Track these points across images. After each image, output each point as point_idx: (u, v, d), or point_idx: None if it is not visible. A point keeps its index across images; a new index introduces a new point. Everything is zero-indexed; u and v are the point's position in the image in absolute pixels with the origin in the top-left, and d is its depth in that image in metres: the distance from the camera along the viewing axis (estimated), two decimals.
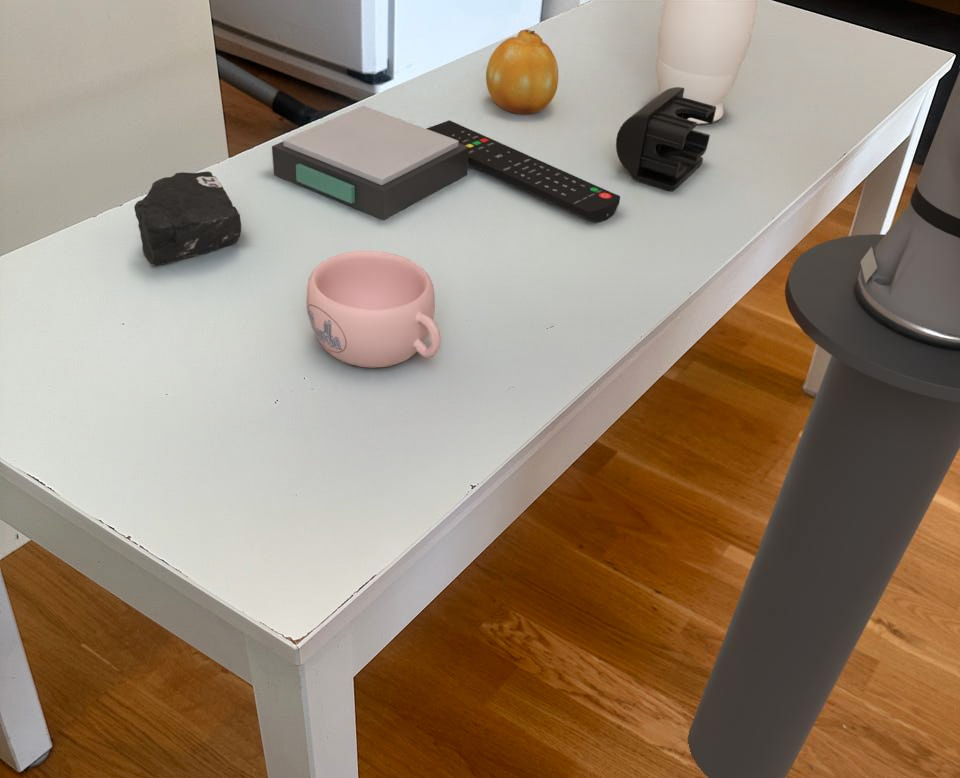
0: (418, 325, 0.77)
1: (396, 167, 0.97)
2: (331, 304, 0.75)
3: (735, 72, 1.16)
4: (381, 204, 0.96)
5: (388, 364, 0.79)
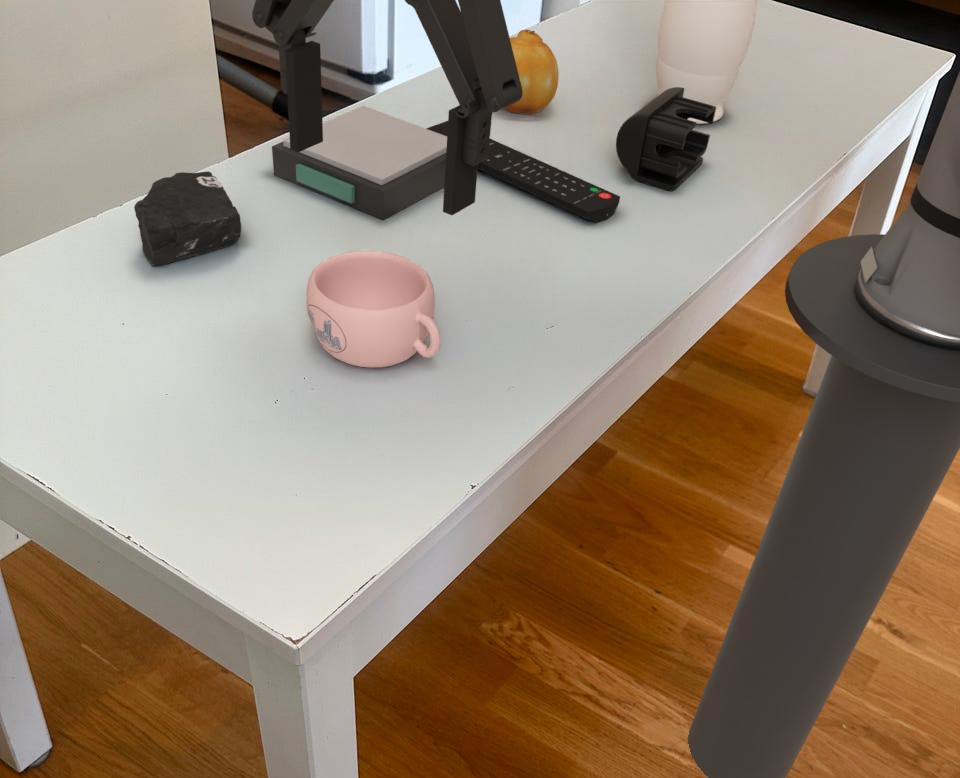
0: (418, 325, 0.77)
1: (396, 167, 0.97)
2: (331, 304, 0.75)
3: (735, 72, 1.16)
4: (381, 204, 0.96)
5: (388, 364, 0.79)
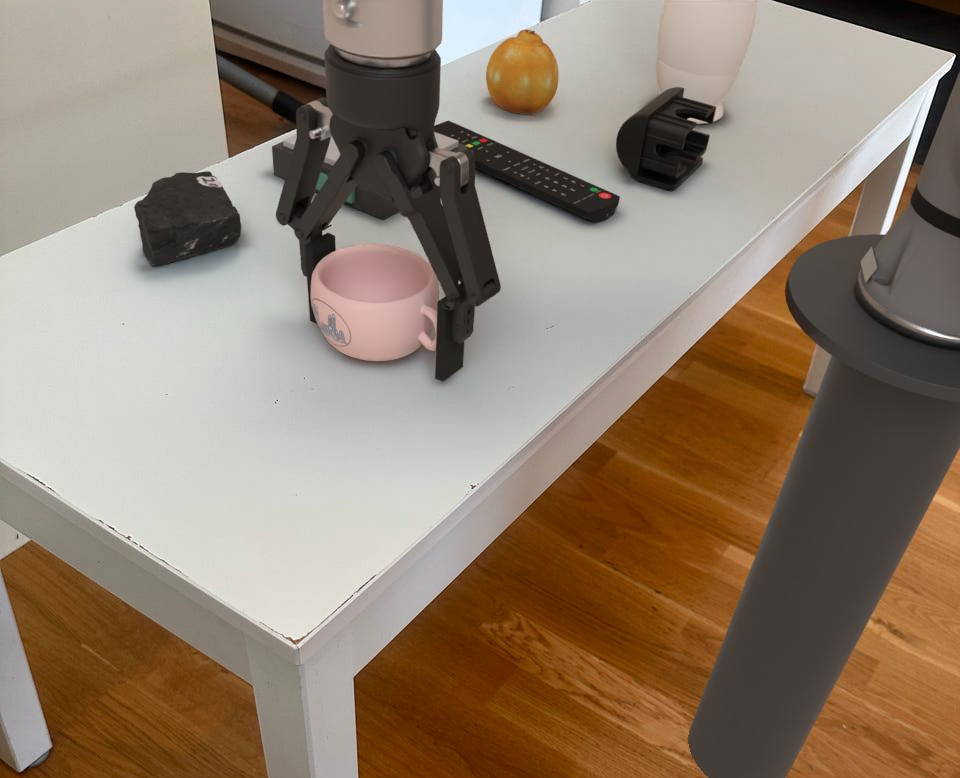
0: (423, 318, 0.77)
1: None
2: (335, 297, 0.75)
3: (735, 72, 1.16)
4: (381, 204, 0.96)
5: (393, 357, 0.79)
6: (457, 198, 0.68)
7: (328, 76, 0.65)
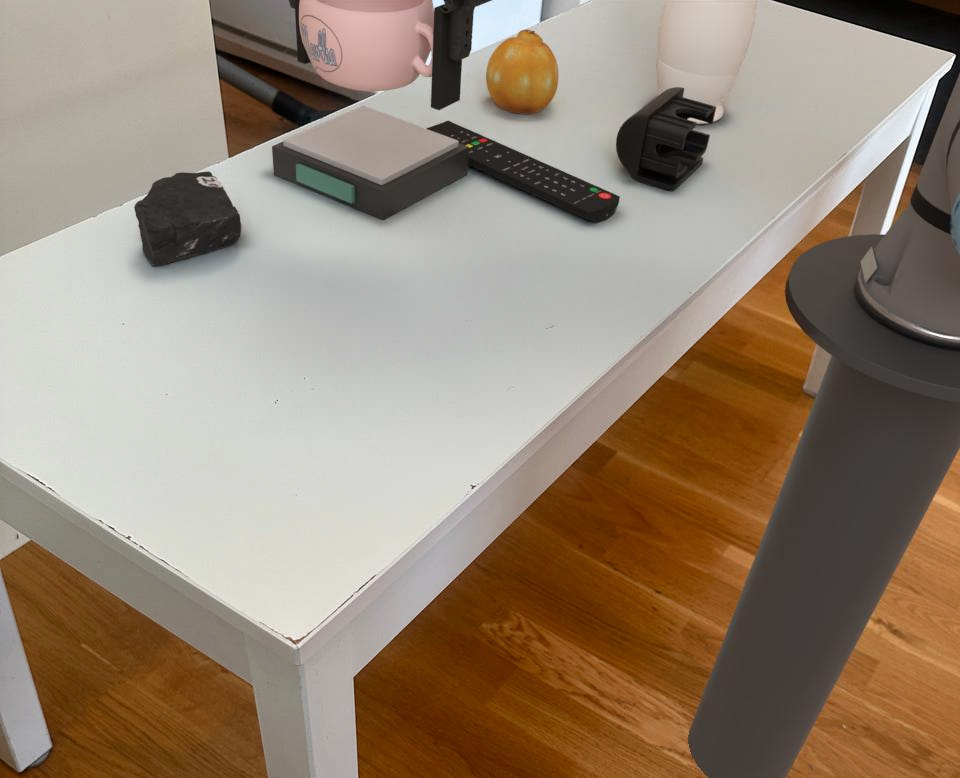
0: (418, 38, 0.73)
1: (396, 167, 0.97)
2: (326, 8, 0.71)
3: (735, 72, 1.16)
4: (381, 204, 0.96)
5: (386, 86, 0.75)
6: None
7: None
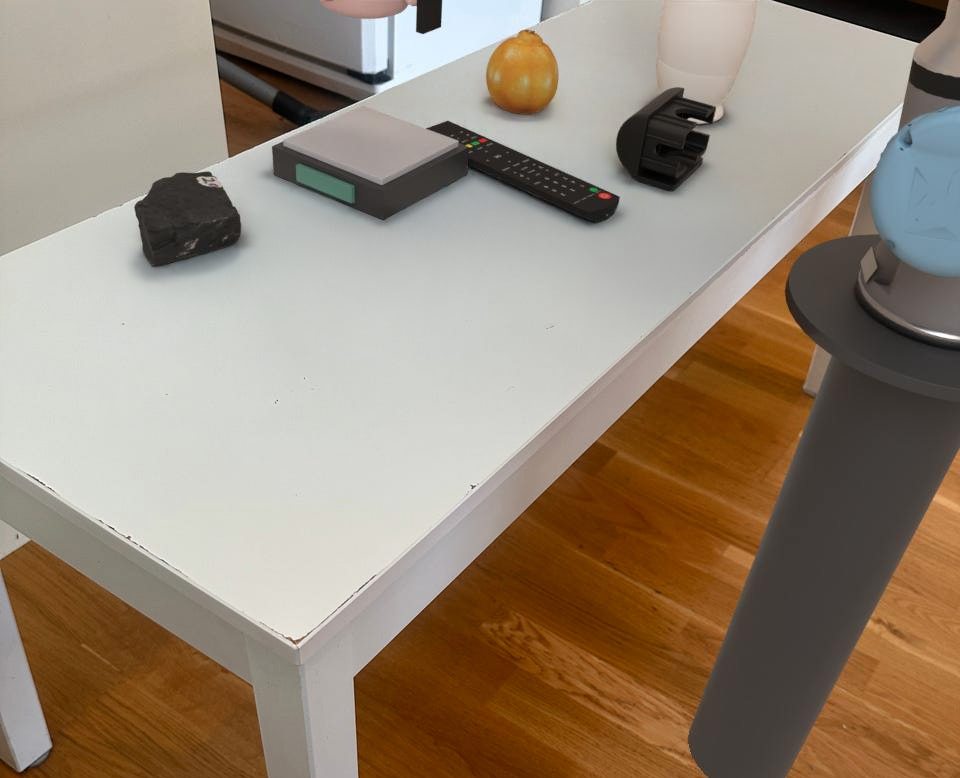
0: None
1: (396, 167, 0.97)
2: None
3: (735, 72, 1.16)
4: (381, 204, 0.96)
5: (379, 14, 0.89)
6: None
7: None
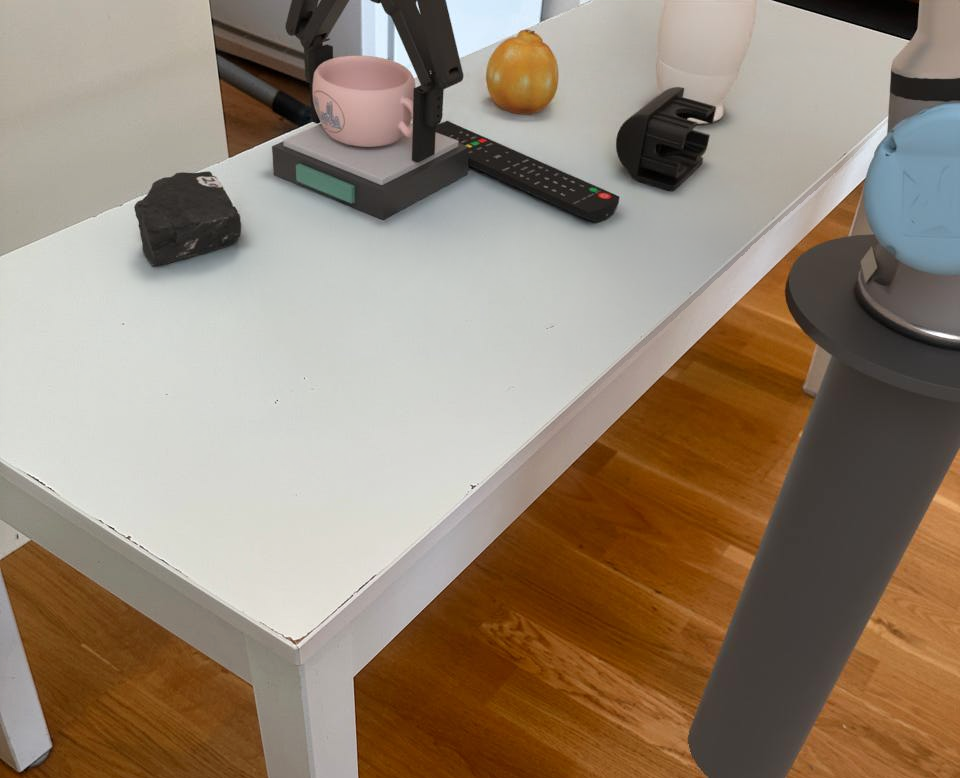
0: (402, 108, 0.96)
1: (396, 167, 0.97)
2: (332, 86, 0.94)
3: (735, 72, 1.16)
4: (381, 204, 0.96)
5: (378, 144, 0.98)
6: None
7: None
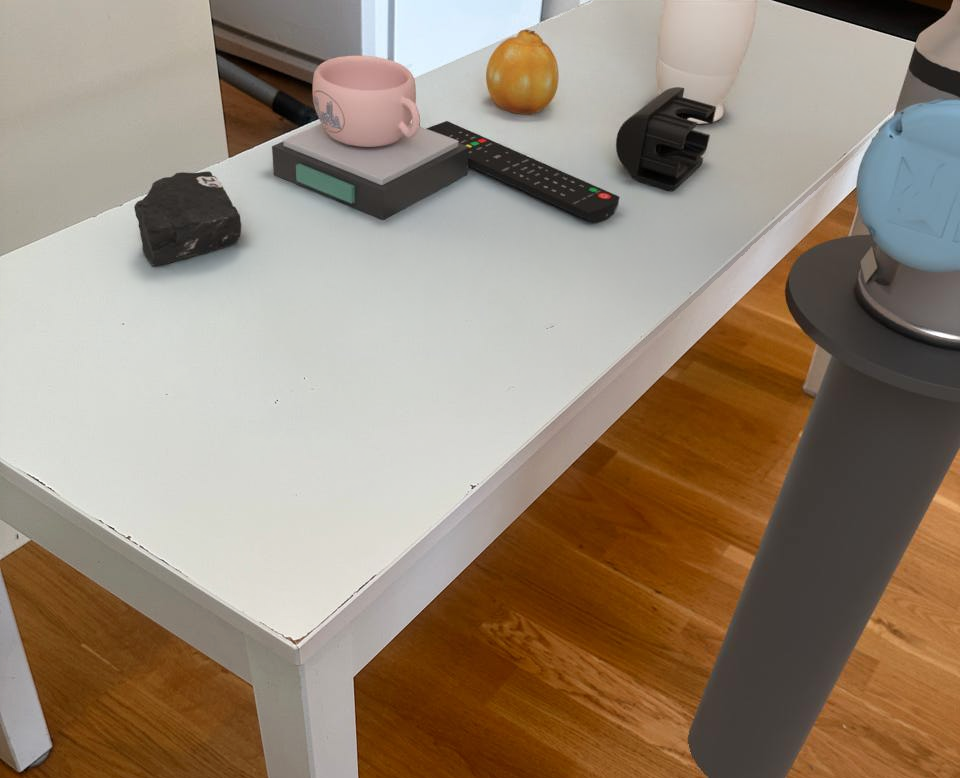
0: (402, 108, 0.96)
1: (396, 167, 0.97)
2: (332, 86, 0.94)
3: (735, 72, 1.16)
4: (381, 204, 0.96)
5: (378, 144, 0.98)
6: None
7: None
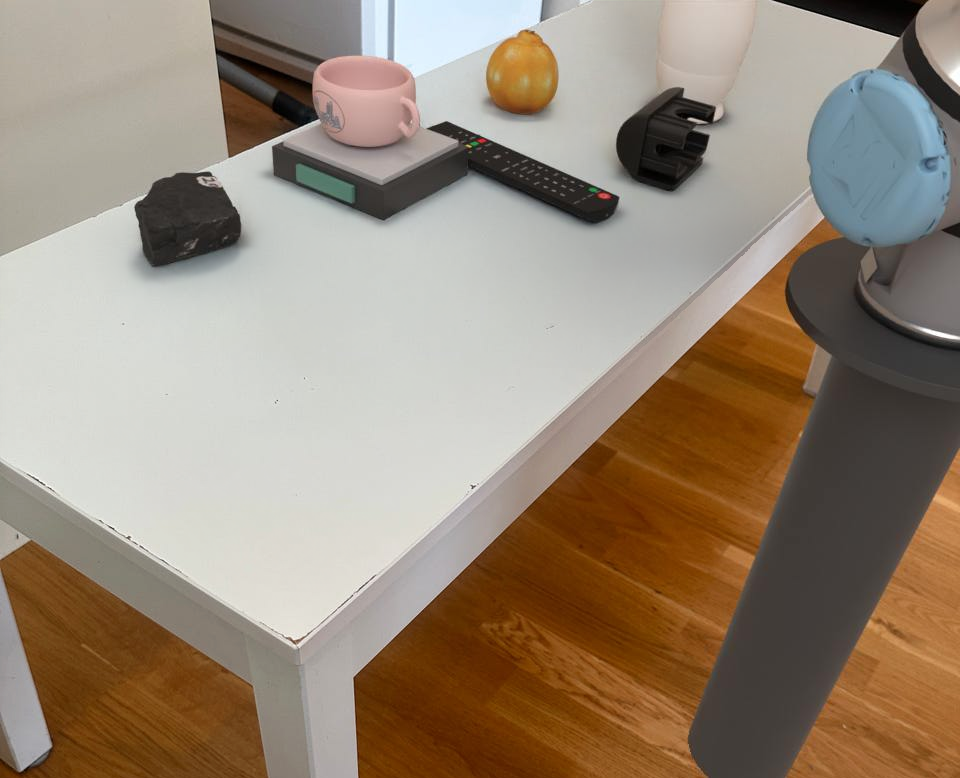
0: (402, 108, 0.96)
1: (396, 167, 0.97)
2: (332, 86, 0.94)
3: (735, 72, 1.16)
4: (381, 204, 0.96)
5: (378, 144, 0.98)
6: None
7: None
